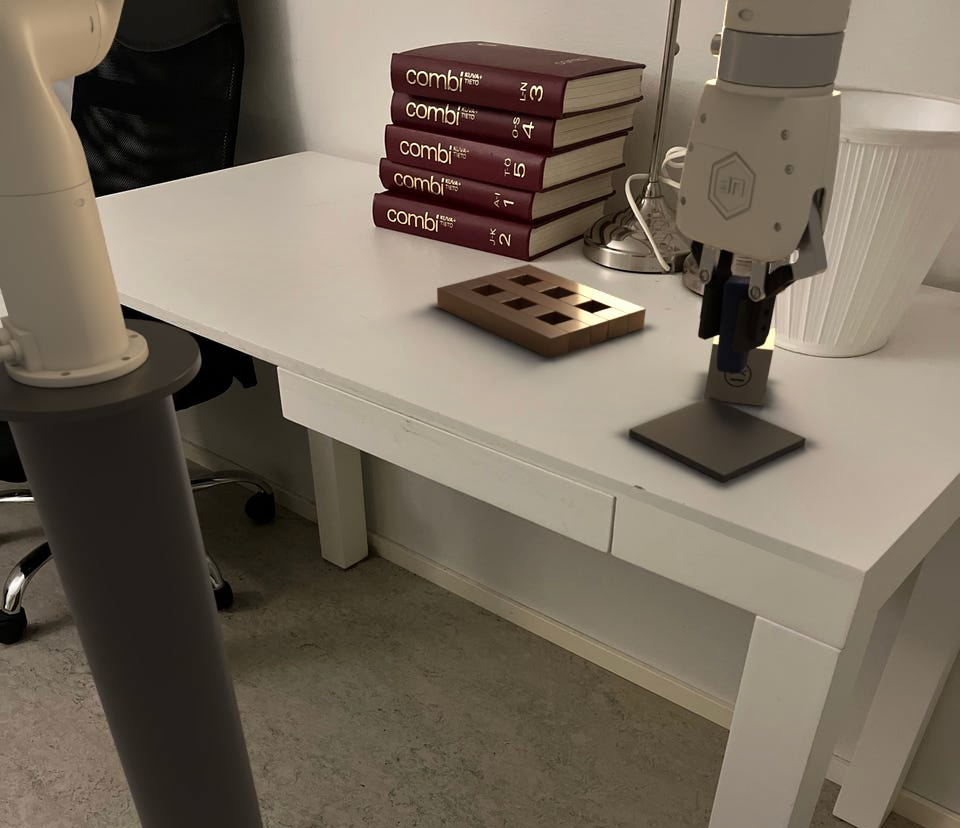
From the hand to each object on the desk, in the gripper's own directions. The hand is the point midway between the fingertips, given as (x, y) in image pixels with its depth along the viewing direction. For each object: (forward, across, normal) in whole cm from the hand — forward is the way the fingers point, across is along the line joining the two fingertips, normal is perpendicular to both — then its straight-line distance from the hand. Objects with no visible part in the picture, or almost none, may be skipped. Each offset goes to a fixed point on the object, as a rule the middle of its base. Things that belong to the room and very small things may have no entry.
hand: (731, 339), depth 73 cm
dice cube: (+9, -5, +9) cm, 13 cm away
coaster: (+8, 0, 0) cm, 8 cm away
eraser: (+2, 0, 0) cm, 3 cm away
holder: (+8, -30, +7) cm, 32 cm away
